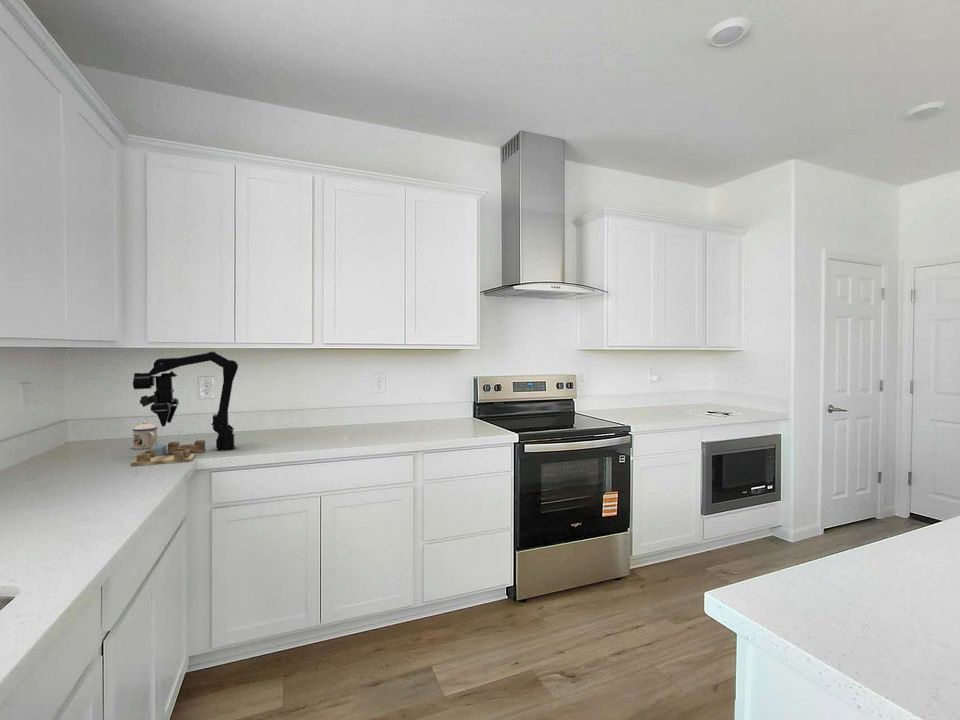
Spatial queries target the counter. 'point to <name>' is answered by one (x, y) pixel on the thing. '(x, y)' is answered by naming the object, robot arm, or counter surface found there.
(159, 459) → the jig
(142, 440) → the teacup with lid
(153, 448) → the light blue block
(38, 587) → the counter surface
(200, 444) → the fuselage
